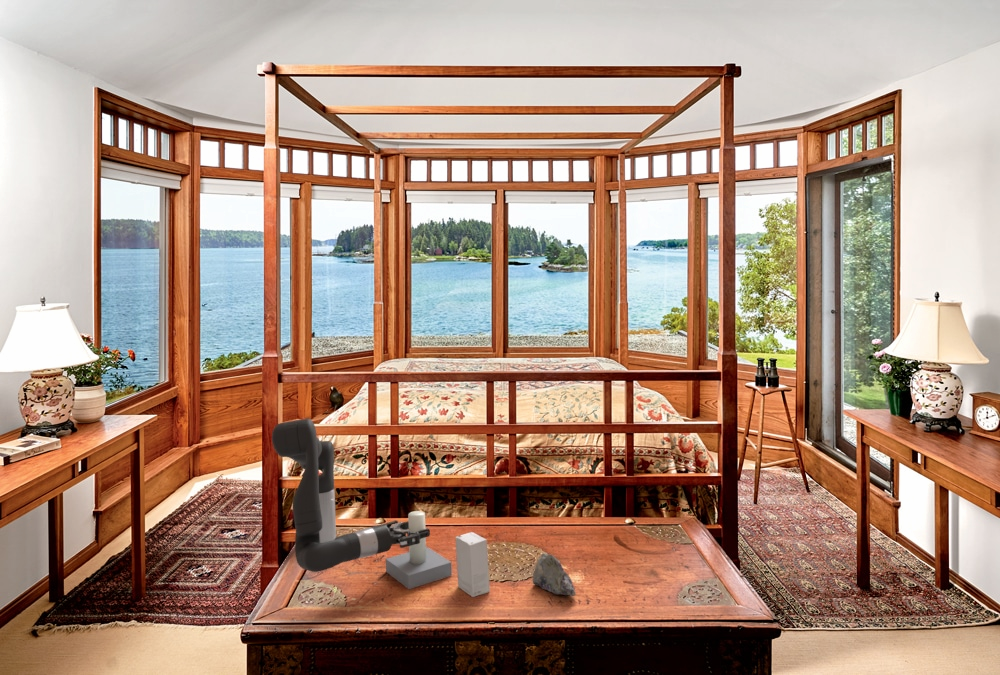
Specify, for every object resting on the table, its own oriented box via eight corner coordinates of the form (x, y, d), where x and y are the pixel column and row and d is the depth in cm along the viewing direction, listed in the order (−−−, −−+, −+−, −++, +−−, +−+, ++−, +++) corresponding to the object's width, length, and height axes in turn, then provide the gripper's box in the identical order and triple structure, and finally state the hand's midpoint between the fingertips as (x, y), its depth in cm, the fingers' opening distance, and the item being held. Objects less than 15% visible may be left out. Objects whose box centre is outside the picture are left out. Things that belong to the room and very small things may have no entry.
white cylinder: (406, 559, 191) (405, 513, 190) (421, 555, 194) (419, 509, 193) (414, 565, 187) (413, 518, 186) (429, 561, 190) (428, 514, 189)
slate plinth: (386, 571, 193) (385, 558, 192) (427, 559, 201) (427, 546, 201) (408, 589, 181) (408, 575, 181) (451, 575, 190) (451, 562, 189)
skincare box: (490, 592, 179) (489, 539, 178) (471, 598, 176) (470, 545, 174) (474, 581, 186) (473, 530, 185) (455, 586, 183) (454, 535, 181)
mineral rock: (577, 602, 173) (576, 566, 172) (536, 604, 172) (536, 567, 171) (569, 580, 186) (569, 546, 185) (531, 581, 185) (531, 547, 184)
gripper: (382, 536, 175) (434, 522, 185) (359, 520, 187) (409, 508, 196) (382, 563, 176) (434, 547, 185) (360, 546, 187) (410, 532, 197)
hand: (421, 527), depth 191 cm, fingers open, 8 cm apart
